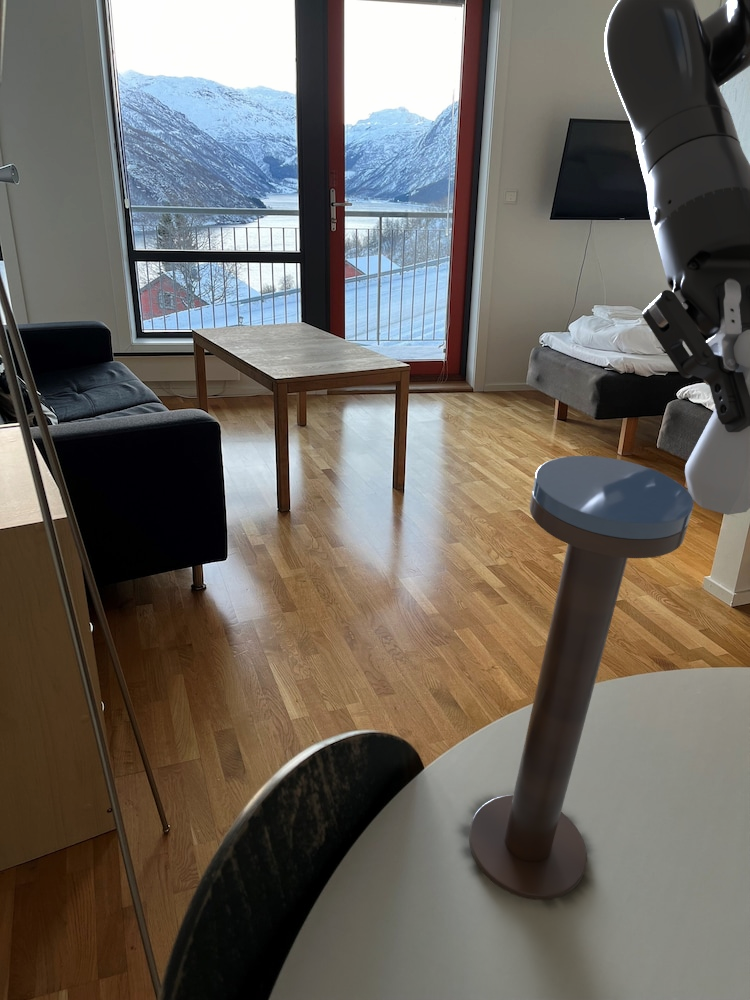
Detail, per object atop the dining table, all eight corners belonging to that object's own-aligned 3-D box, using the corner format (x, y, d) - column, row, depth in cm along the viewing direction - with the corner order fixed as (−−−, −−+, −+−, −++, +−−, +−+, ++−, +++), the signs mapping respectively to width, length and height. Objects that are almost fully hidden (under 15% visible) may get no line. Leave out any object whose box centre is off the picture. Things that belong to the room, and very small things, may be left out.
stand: (486, 791, 63) (551, 458, 49) (592, 834, 60) (694, 491, 46) (451, 876, 56) (515, 512, 41) (570, 930, 52) (683, 556, 38)
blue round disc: (551, 458, 49) (554, 444, 48) (694, 491, 46) (698, 476, 45) (515, 512, 41) (518, 496, 41) (683, 556, 38) (687, 539, 38)
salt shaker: (665, 498, 56) (714, 328, 50) (694, 478, 60) (743, 317, 54) (744, 528, 52) (807, 349, 46) (769, 504, 56) (830, 336, 50)
